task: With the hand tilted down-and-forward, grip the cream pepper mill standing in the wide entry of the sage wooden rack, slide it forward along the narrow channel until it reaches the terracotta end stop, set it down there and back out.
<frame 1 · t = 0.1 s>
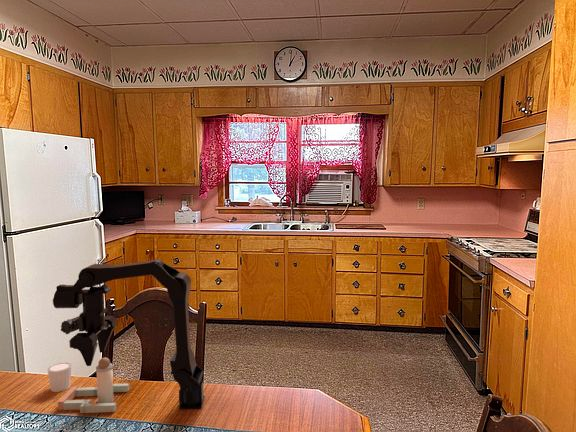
hand: (95, 358, 120), 15 cm above the table, tool pointing down, fingers open, 9 cm apart
shot glass: (60, 388, 133), on the table
pepper mill: (105, 400, 125), on the table
rack: (95, 400, 125), on the table
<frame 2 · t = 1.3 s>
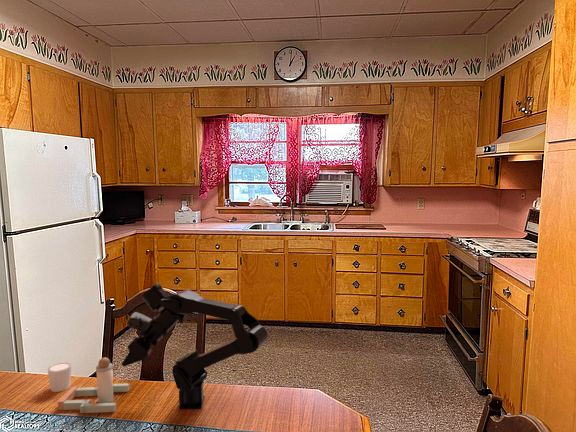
hand: (128, 358, 124), 13 cm above the table, tool tilted 45°, fingers open, 9 cm apart
nothing on the table moved.
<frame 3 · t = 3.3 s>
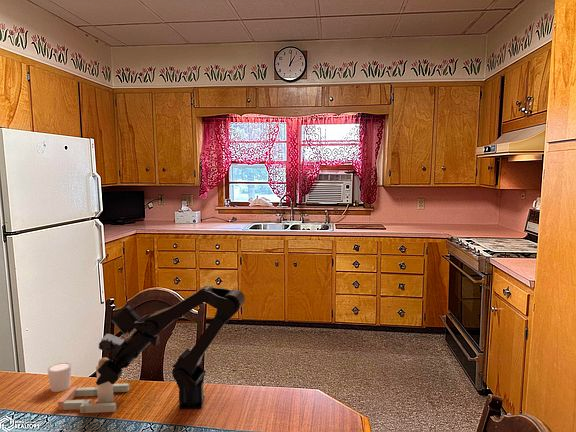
hand: (100, 380, 124), 7 cm above the table, tool tilted 45°, fingers closed on pepper mill, 4 cm apart
pepper mill: (105, 400, 125), on the table, touching gripper
everything else where it was.
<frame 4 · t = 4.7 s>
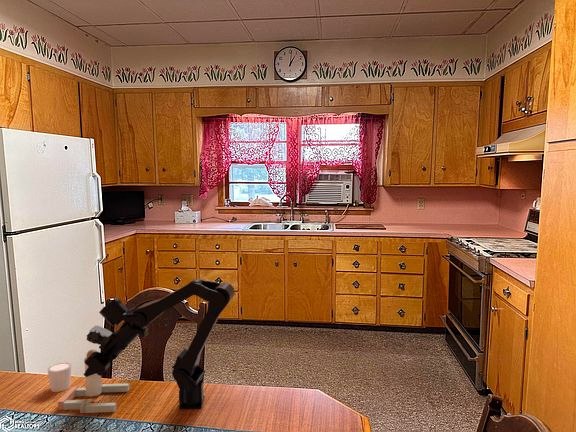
hand: (88, 372, 124), 9 cm above the table, tool tilted 45°, fingers closed on pepper mill, 4 cm apart
pepper mill: (94, 392, 124), point 3 cm above the table, touching gripper
everything else where it was.
when the fingers open (7 cm above the table, at t = 6.2 s): pepper mill stays where it is, on the table.
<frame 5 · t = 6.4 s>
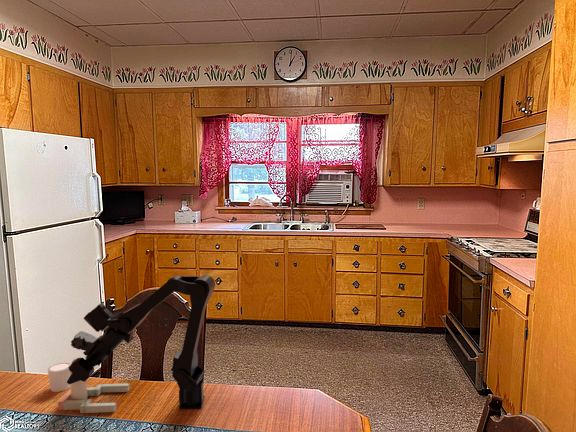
hand: (73, 377, 124), 8 cm above the table, tool tilted 45°, fingers open, 6 cm apart
pepper mill: (79, 401, 124), on the table
everything else where it was.
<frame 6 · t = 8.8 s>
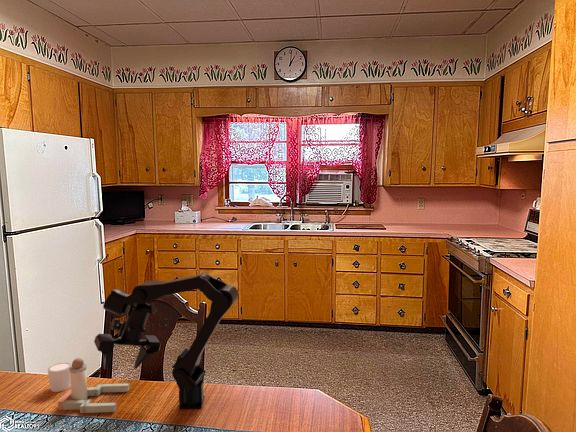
hand: (120, 368, 124), 10 cm above the table, tool tilted 20°, fingers open, 9 cm apart
nothing on the table moved.
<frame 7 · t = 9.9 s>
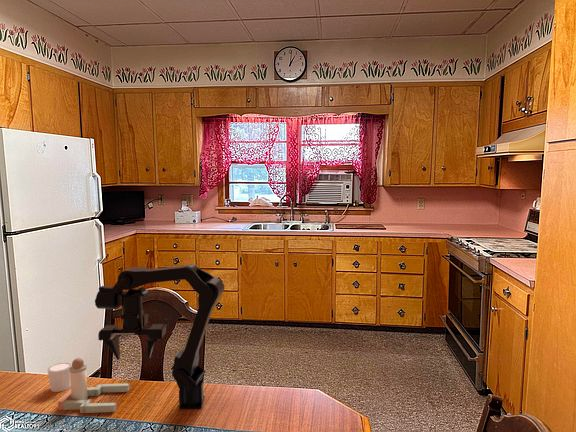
hand: (133, 359, 124), 13 cm above the table, tool pointing down, fingers open, 9 cm apart
nothing on the table moved.
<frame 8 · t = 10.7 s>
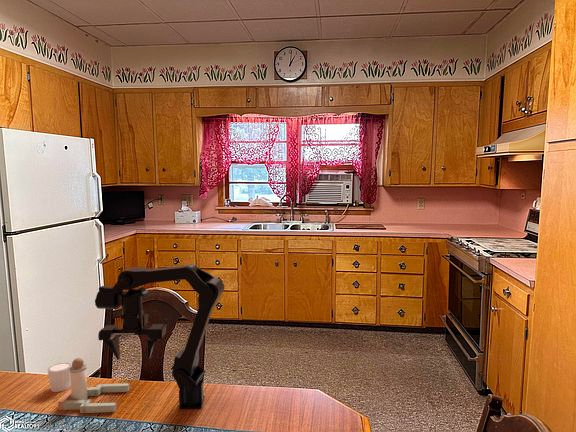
hand: (133, 359, 124), 13 cm above the table, tool pointing down, fingers open, 9 cm apart
nothing on the table moved.
at the end: pepper mill 0.7 cm from the target spot on the rack, point 0.0 cm above the rack's base; pepper mill tilted 0°; the gripper is holding nothing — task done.
